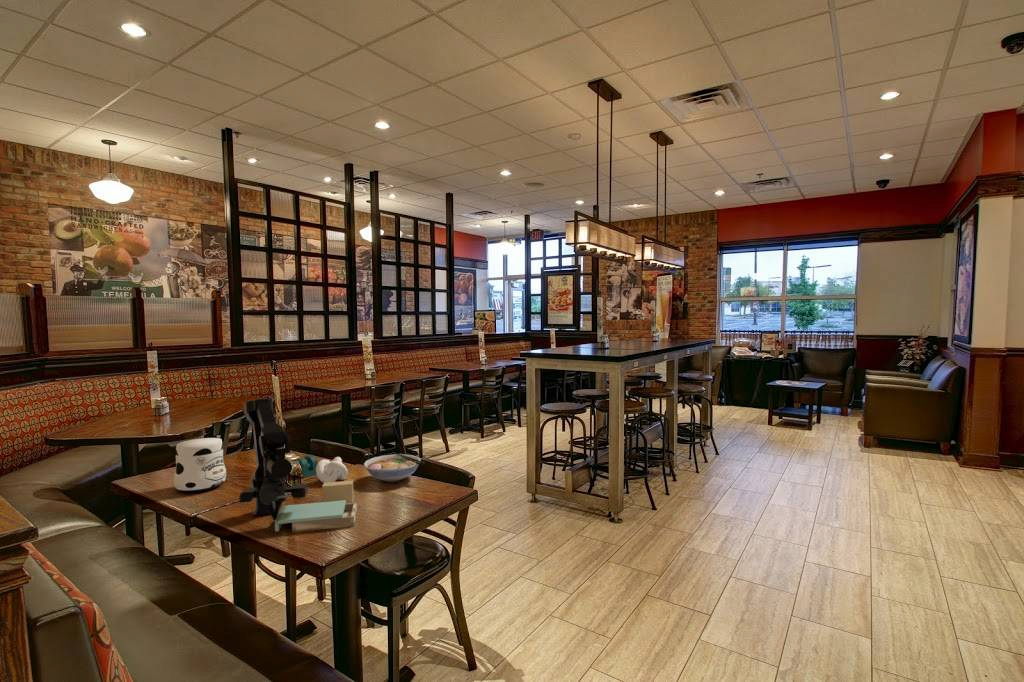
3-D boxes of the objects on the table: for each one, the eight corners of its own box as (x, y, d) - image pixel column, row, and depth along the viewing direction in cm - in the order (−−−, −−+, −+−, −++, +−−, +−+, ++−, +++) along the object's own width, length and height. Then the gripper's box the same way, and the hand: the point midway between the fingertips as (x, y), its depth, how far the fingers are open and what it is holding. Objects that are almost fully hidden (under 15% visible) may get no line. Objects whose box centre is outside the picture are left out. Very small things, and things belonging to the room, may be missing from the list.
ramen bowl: (354, 477, 201) (353, 458, 201) (404, 467, 216) (404, 449, 215) (378, 493, 182) (378, 472, 182) (432, 481, 196) (432, 461, 196)
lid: (284, 515, 159) (284, 505, 159) (346, 509, 164) (345, 500, 164) (275, 531, 147) (274, 521, 147) (342, 524, 151) (342, 514, 151)
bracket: (317, 474, 207) (317, 456, 207) (303, 478, 201) (303, 459, 201) (291, 468, 216) (290, 450, 216) (277, 472, 210) (276, 454, 210)
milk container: (224, 491, 186) (222, 444, 185) (169, 498, 178) (168, 449, 178) (228, 478, 201) (227, 435, 201) (178, 484, 194) (177, 440, 194)
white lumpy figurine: (316, 478, 201) (316, 456, 201) (347, 474, 205) (346, 453, 205) (316, 486, 190) (315, 464, 190) (348, 483, 195) (348, 460, 194)
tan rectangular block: (324, 502, 174) (323, 482, 173) (353, 499, 176) (353, 480, 176) (322, 506, 170) (322, 486, 170) (352, 503, 172) (352, 483, 172)
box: (300, 516, 161) (299, 507, 160) (356, 510, 165) (356, 502, 165) (292, 532, 148) (292, 522, 148) (354, 526, 152) (354, 516, 152)
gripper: (232, 480, 142) (234, 533, 143) (301, 475, 147) (302, 527, 147) (244, 469, 153) (245, 518, 154) (307, 465, 157) (308, 513, 158)
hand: (275, 519), depth 153 cm, fingers closed
